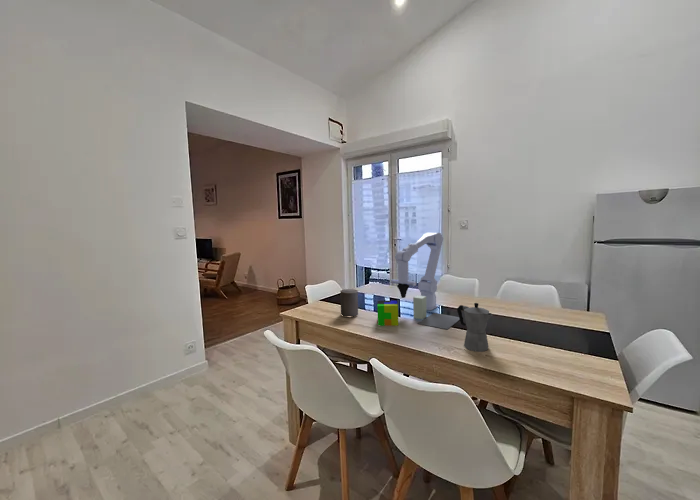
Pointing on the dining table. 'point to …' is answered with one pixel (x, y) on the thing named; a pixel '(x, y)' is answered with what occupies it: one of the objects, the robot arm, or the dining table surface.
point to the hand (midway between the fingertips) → (403, 297)
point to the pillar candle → (349, 302)
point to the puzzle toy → (387, 313)
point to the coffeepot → (475, 327)
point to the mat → (439, 321)
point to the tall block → (419, 307)
